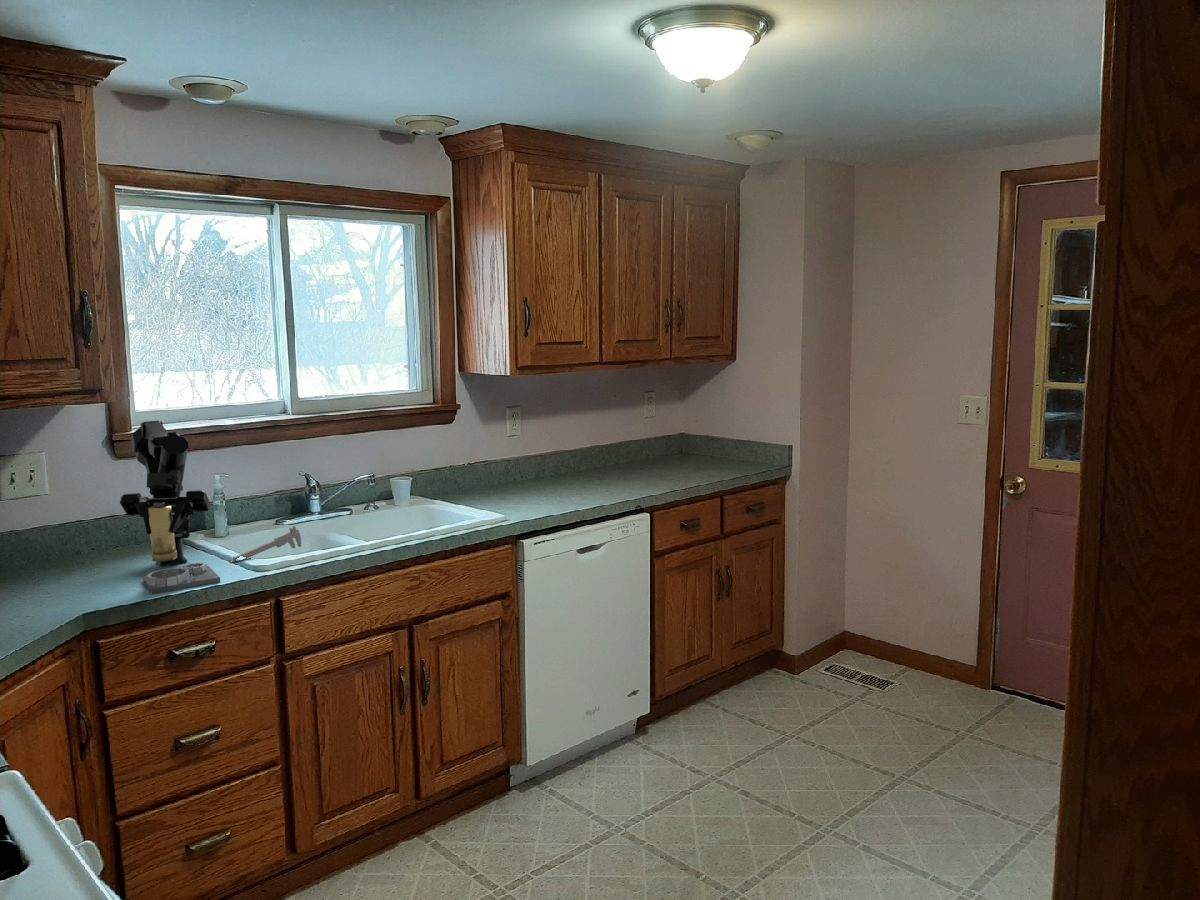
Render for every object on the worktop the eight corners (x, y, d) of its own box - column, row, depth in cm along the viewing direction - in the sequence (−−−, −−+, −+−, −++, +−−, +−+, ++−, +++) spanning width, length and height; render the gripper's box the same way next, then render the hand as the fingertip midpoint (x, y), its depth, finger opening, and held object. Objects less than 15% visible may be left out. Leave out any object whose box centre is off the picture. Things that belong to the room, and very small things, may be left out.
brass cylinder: (148, 559, 216) (142, 503, 214) (172, 554, 220) (166, 499, 218) (157, 563, 213) (151, 506, 210) (181, 558, 216) (175, 502, 214)
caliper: (299, 547, 253) (297, 524, 252) (301, 547, 252) (299, 525, 251) (229, 563, 237) (226, 540, 237) (231, 564, 237) (228, 540, 236)
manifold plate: (143, 581, 222) (141, 568, 222) (208, 570, 230) (207, 558, 230) (151, 594, 211) (150, 580, 211) (220, 582, 220) (219, 569, 219)
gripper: (118, 460, 215) (105, 516, 206) (201, 456, 218) (193, 512, 209) (133, 487, 224) (122, 542, 215) (213, 483, 227) (205, 537, 218)
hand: (160, 532), depth 214 cm, fingers closed on brass cylinder, 5 cm apart
